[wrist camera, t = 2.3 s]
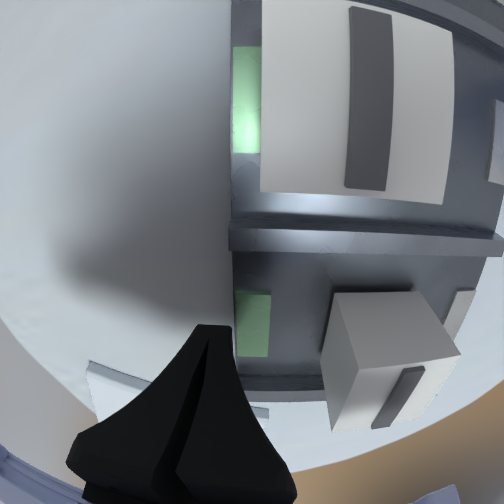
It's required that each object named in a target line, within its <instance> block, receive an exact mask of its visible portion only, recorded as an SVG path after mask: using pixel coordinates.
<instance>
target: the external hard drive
mask: <svg viewBox="0 0 504 504" xmlns="http://www.w3.org/2000/svg"><path fill="white" fill-rule="evenodd" d="M86 379H87V383H88V387H89V391H90V394H91V398H92V402H93V405H94V409H95V412H96V416H97V419H98V422H99V423H100V422H101V421H103V420H105V419H106V418H108V417H109V416H111V415H112V414H114V413H115V412H117V411H118V410H120V409H121V408H123V407H124V406H125V405H127V404H128V403H129V402H130V401H132V400H133V399H134V398H135V397H136V396H138V395H139V394H140V393H141V392H142V391H143V390H144V389H146V388H147V387H148V386H149V385H150V384H151V382H148V381H145V380H142V379H139V378H136V377H133V376H130V375H127V374H124V373H121V372H118V371H115V370H113V369H110V368H107V367H105V366H102V365H99V364H97V363H94V362H92V361H91V362H90V364H89V366H88V367H87V369H86ZM251 408H252V410H253V413H254V415H255V417H256V418H257V420H258V422H259V424H260V426H261V427H262V429H264V427H265V426H266V425H267V423H268V420H269V409H263V408H257V407H251Z"/></svg>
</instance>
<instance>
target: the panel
mask: <svg viewBox="0 0 504 504" xmlns="http://www.w3.org/2000/svg"><path fill="white" fill-rule="evenodd" d="M347 1H353V2H358V3H362V4H367V5H371V6H375V7H379V8H383V9H387V10H391V11H394V12H398V13H401V14H404V15H407V16H411V17H414V18H417V19H419V20H422V21H425V22H428V23H430V24H433V25H436V26H438V27H441V28H443V29H446V30H448V31H450V32H452V40H453V54H454V114H453V129H452V141H451V150H450V159H449V166H448V173H447V180H446V186H445V192H444V197H443V202H442V205H439V204H431V203H422V202H413V201H403V200H393V199H381V198H369V197H356V196H341V195H324V194H303V193H275V192H260V164H261V85H262V0H232V12H231V83H230V141H231V221H230V224H229V228H228V233H229V251H232V262H233V296H234V324H235V349H236V369H237V372H238V375H239V378H240V381H241V384H242V387H243V390H244V392H245V395H246V397H247V400H248V402H307V401H327V400H326V394H325V388H324V382H323V377H322V371H321V365H320V358H321V354H322V350H323V345H324V341H325V336H326V332H327V327H328V323H329V318H330V313H331V308H332V303H333V298H334V293H369V292H411V291H420V293H421V294H422V296H423V297H424V298H425V300H426V301H427V303H428V304H429V306H430V307H431V308H432V310H433V311H434V313H435V314H436V316H437V317H438V319H439V320H440V322H441V323H442V325H443V327H444V328H445V330H446V331H447V333H448V334H449V336H450V338H451V339H452V341H454V339H455V337H456V335H457V333H458V331H459V329H460V327H461V324H462V322H463V320H464V318H465V316H466V314H467V311H468V309H469V307H470V305H471V302H472V300H473V298H474V295H475V293H476V290H475V289H476V286H477V284H478V281H479V278H480V276H481V273H482V270H483V267H484V264H485V261H486V258H487V257H502V255H503V252H504V238H502V237H501V236H500V235H498V234H497V233H495V228H496V225H497V221H498V217H499V213H500V208H501V204H502V199H503V194H504V0H347Z"/></svg>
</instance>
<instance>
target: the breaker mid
mask: <svg viewBox="0 0 504 504" xmlns="http://www.w3.org/2000/svg"><path fill="white" fill-rule="evenodd" d="M453 114H454V54H453V40H452V32H450V31H448V30H446V29H443V28H441V27H438V26H436V25H433V24H430V23H428V22H425V21H422V20H419V19H417V18H414V17H411V16H407V15H404V14H401V13H398V12H394V11H391V10H387V9H383V8H379V7H375V6H371V5H367V4H362V3H358V2H353V1H347V0H262V85H261V164H260V192H275V193H303V194H324V195H341V196H356V197H369V198H381V199H393V200H403V201H413V202H422V203H431V204H439V205H442V202H443V197H444V192H445V186H446V180H447V173H448V166H449V159H450V150H451V141H452V129H453Z"/></svg>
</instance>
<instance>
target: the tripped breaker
mask: <svg viewBox="0 0 504 504" xmlns="http://www.w3.org/2000/svg"><path fill="white" fill-rule="evenodd" d="M460 356H461V354H460V352H459V351H458V349H457V347H456V346H455V344H454V342H453V341H452V339H451V338H450V336H449V334H448V333H447V331H446V330H445V328H444V327H443V325H442V323H441V322H440V320H439V319H438V317H437V316H436V314H435V313H434V311H433V310H432V308H431V307H430V306H429V304H428V303H427V301H426V300H425V298H424V297H423V296H422V294H421V293H420V291H411V292H369V293H334V298H333V303H332V308H331V313H330V318H329V323H328V327H327V332H326V336H325V341H324V345H323V350H322V354H321V358H320V365H321V371H322V377H323V382H324V388H325V394H326V400H327V406H328V413H329V419H330V426H331V432H339V431H348V430H357V429H364V428H371V429H377V428H383V427H389V426H390V425H391V424H394V423H400V422H404V421H409V420H414V419H418V418H419V417H420V416H421V415H422V413H423V412H424V411H425V409H426V408H427V407H428V405H429V404H430V402H431V401H432V400H433V398H434V397H435V395H436V394H437V393H438V391H439V390H440V388H441V387H442V385H443V384H444V382H445V381H446V379H447V377H448V376H449V374H450V373H451V371H452V369H453V368H454V366H455V365H456V363H457V361H458V360H459V358H460Z"/></svg>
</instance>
